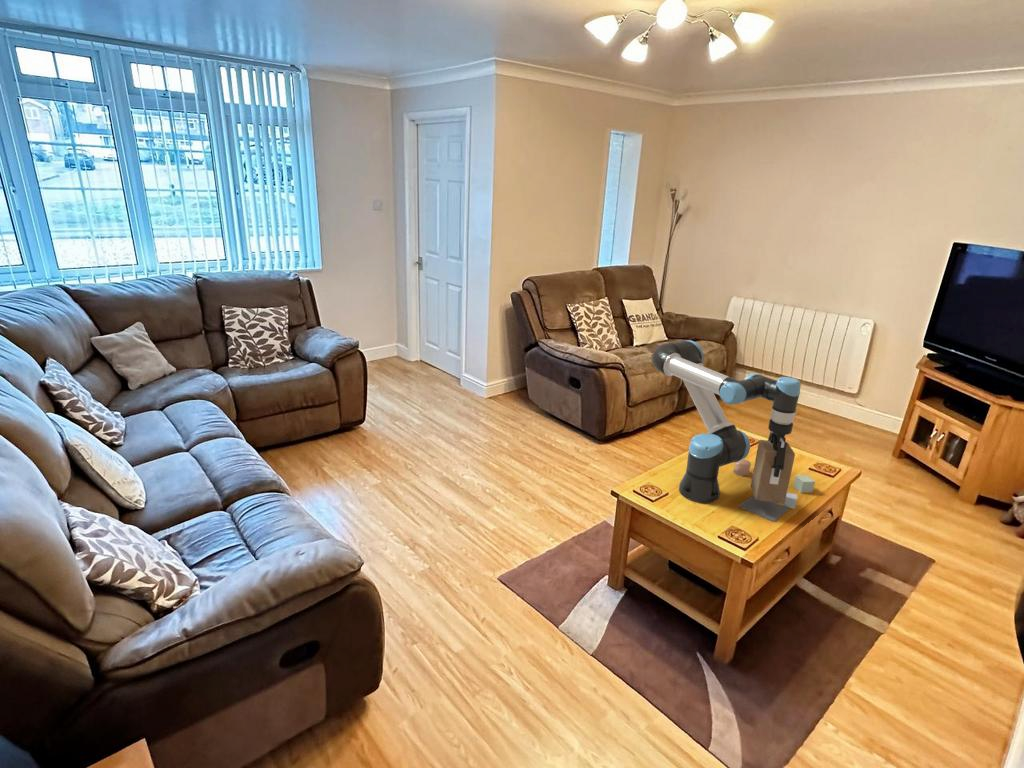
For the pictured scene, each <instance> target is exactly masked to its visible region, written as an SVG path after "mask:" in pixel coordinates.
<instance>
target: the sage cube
mask: <svg viewBox="0 0 1024 768" xmlns="http://www.w3.org/2000/svg"><path fill="white" fill-rule="evenodd" d="M794 477H795V478H794V481H793V485H792V486H793V488H794V489H796V490H797V491H798V492H799V493H801V494H805V493H806V494H809V493H813V492H814V488H815V483H816V481H815V480H814V479H813V478H811V477H810V476H809V475H808V474H805V475H804V474H803V475H795V476H794Z"/></svg>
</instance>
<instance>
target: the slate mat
mask: <svg viewBox="0 0 1024 768" xmlns="http://www.w3.org/2000/svg"><path fill="white" fill-rule="evenodd" d="M738 507H739V508H741V509H742V510H745V511H748V512H750V513H752V514H755V515H757V516H759V517H761V518H763V519H766V520H768V521H770V522H773V523H774V522H776V521H777V520H778V519H779V518H781V516H782V515H784V514H785V513H786V512H787V511H789V510H790V507H786V506H784V504H782V503H779V502H771V501H762V500H756V498H755V496H754V494H753V495H752V496H750V497H749V498H747V499H746V500H744V501H743V502H742V503H741V504H739V505H738Z"/></svg>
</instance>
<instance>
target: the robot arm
mask: <svg viewBox="0 0 1024 768" xmlns="http://www.w3.org/2000/svg"><path fill="white" fill-rule="evenodd" d="M703 361H704V351H703V349H702V347H701V345H700V344H698V342H696V341H693V340H690V339H689V340H687V339H685V340H679V341H674V342H673V341H671V342H667V343H662V344H659V345H658V346H657V347H655V349H654V350H653V352H652V355H651V363H652V366H653V367H654V368H655V369H656V371H657V372H659V373H660V374H664V375H665V376H667V377H673V376H674V377H676V378H679V379H681V380H682V381H683V384H684V385H685V387H686V389H687V392H688V393H689V396H690V398H691V400H692V401H693V403H694V406H695V408H696V409H697V412H698V414H699V416H700V417H701V420H702V422H703V424H704V426H705V428H706V431H707V433H698V434H697V435H694V436H693V437H692V438H691V439H690V443H689V445H688V446H689V447H688V453H687V454H688V455H687V462H686V463H687V464H686V470H685V473H684V475H683V477H682V479H680V483H679V486H678V491H679V493H680V494H681V495H682V497H684V498H686V499H688V500H691V501H692V502H695V503H696V502H697V503H704V504H705V503H707V504H708V503H709V504H711V503H713V502H716V501H718V499H719V498H720V493H721V490H720V484H719V479H718V476H719V471H720V468H721V467H723V466H727V465H729V464H733V463H735V462H738V461H740V460H742V459H744V460H745V458H747V456H748V455H749V453H750V450H751V443H750V442H751V441H750V438H749V436H748V435H747V434H746V433H745V432H743V431H742V430H739V429H737V427H736V425H735V423H731V422H730V421H728V418H727V416H726V414H725V412H724V410H723V409H722V406H721V405H720V403H719V401H718V399H717V397H716V396H715V394H716V395H718V396H719V397H720V399H721V401H723V403H725V404H727V405H738V404H741V403H743V402H748V401H751V400H755V399H759V398H760V399H761V398H762V399H765V400H767V401H770V402H772V406H771V411H770V415H769V416H770V417H769V418H770V419H769V422H768V427H767V428H768V431H770V432H769V436H768V439H767V440H768V441H770V442H771V443H773V448H774V449H775V451H777V455H776V456H775V459H774V466H771V468H772V472H771V477H770V482H769V483H770V484H777V485H778V482H779V477H780V472H781V470H783V469H784V460H785V451H786V446H787V443H788V442H786V440H787V439H786V437H785V436H786V435H790V434H792V431H793V427H794V422H795V421H794V420H795V417H796V416H797V415H798V414H797V412H796V411H797V405H798V402H799V398H800V395H801V386H802V383H801V381H800V380H799V379H797V378H794V377H790V376H780V377H779V378H778V379H777V380H776V379H774V378H771V377H768V376H764V375H763V374H759V373H754V372H752V373H749V374H748V375H747V376H745V377H744V378H743V379H741V380H738V379H736V378H733V377H730V376H729V375H726V374H723V373H721V372H718V371H716V370H713V369H710V368H709V367H706V366H704V364H703ZM776 446H778V447H776Z"/></svg>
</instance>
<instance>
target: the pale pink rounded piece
mask: <svg viewBox="0 0 1024 768" xmlns="http://www.w3.org/2000/svg"><path fill="white" fill-rule="evenodd" d="M751 465H752V463H751V461H749V460H747V459H745V458H744V459H742V460H740V461H738V462H734V469H733V473H734V474H735V475H737V476H740V477H748V476H749V475H750V471H751Z"/></svg>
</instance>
